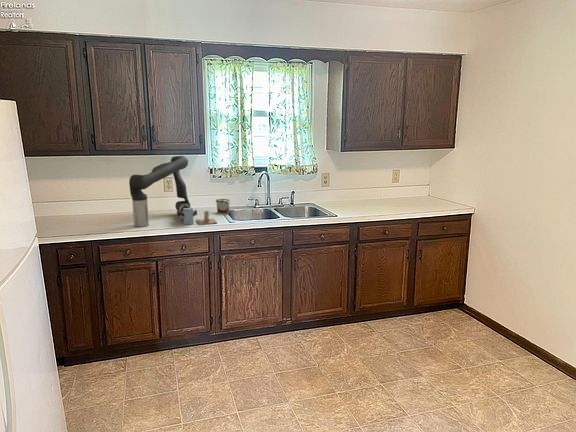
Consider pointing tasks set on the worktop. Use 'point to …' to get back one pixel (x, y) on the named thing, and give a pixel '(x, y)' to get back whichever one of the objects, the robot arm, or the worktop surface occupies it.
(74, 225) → the worktop surface
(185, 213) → the blue-grey rectangular block
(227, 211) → the food container
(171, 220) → the worktop surface
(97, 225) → the worktop surface
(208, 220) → the post
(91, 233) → the worktop surface
